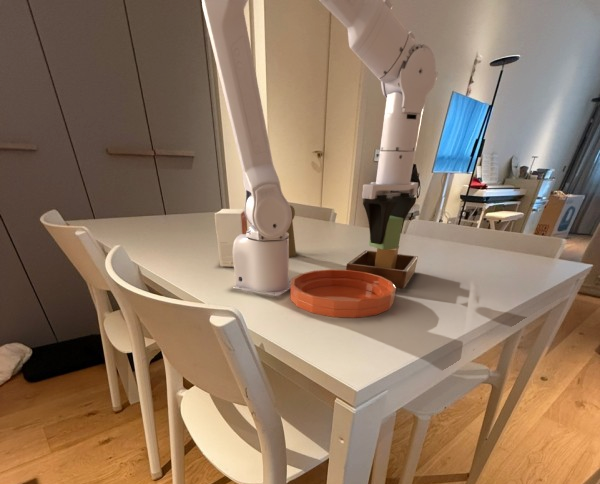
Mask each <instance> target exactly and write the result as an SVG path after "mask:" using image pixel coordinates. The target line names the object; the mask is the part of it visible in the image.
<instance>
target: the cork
mask: <svg viewBox="0 0 600 484" xmlns="http://www.w3.org/2000/svg"><path fill="white" fill-rule="evenodd" d="M289 205H290V207H291V211H292V221H291V224H290V227H289V229H288V230H287V231H286V232H288V233H289V258H291V257H295V256H296V255H297V249H296V242H295V232H294V221H293V220H294V219H295V216H296V211H295V210H296V209H295V208H294V205H291V204H289Z"/></svg>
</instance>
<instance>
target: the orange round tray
mask: <svg viewBox="0 0 600 484" xmlns="http://www.w3.org/2000/svg"><path fill="white" fill-rule="evenodd" d="M290 282H291V289H290V301H291V302H292V303H293V304H294V305H295V306H296V307H297V308H299V309H301V310H304V311H307V312H309V313H312V314H316V315H320V316H321V315H322V316H327V317H332V318H355V319H357V318H365V317H371V316H377V315H379V314H382V313H384V312H386V311H389V310H390V309H391V307H392V305H393V304H394V301H395V295H396V291H397V288H395V286H394V284H393V283H392V282H391V281H389V280H387V279H385V278H383V277H381V276H378V275H374V274H370V273H367V272H360V271H352V270H346V269H319V270H312V271H306V272H304V273H303V272H302V273H300V274H298V275H296V276H294V277H293V278H291V281H290Z"/></svg>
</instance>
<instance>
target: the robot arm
mask: <svg viewBox="0 0 600 484" xmlns="http://www.w3.org/2000/svg"><path fill="white" fill-rule="evenodd" d="M248 1H249V0H201V2H202V3H201V5H202V6H201V7H202V11H203V15H204V19H205V22H206V23H205V24H206V27H207V31H208V36H209V39H210V44H211V48H212V51H213V56H214V60H215V65H216V68H217V72H218V76H219V81H220V85H221V89H222V94H223V96H224V101H225V106H226V109H227V114H228V119H229V121H230V126H231V131H232V134H233V139H234V143H235V147H236V151H237V156H238V159H239V163H240V167H241V173H242V184H243V188H244V194H245V199H244V206H243V209H244V211H245V216H246V218H247V223H249V224H250V226H249V227H248V228H247V230H248V231H247V232H246V234H242V235H239V236H238V237H237V238H236V239H235V242H234V245H233V263H234V267H233V275H234V283H235V286H233V289H234V290H235V289H236V290H240V291H246V292H252V293H258V294H262V295H263V294H264V295H268V296H274V297H280V296H282V295H283V294H285V293H286V292H288V291H289V290H291V281H290V257H289V233H288V232H286V231H287V230H288V229H289V227H290V224H291V221H293V220H292V211H291V207H290V205H291V204H290V203H289V201H288V200H287V199H286V197H285V195H284V193H283V190H282V186H281V181H280V179H279V176H278V174H277V173H278V172H277V171H276V167H275V165H274V162H273V156H272V152H271V147H270V141H269V136H268V130H267V125H266V120H265V115H264V109H263V105H262V99H261V94H260V88H259V83H258V78H257V74H256V67H255V63H254V58H253V52H252V48H251V47H252V46H251V42H250V37H249V32H248V31H249V30H248V26H247V22H246V16H245V8H246V6H247V3H248ZM318 1H319V2H320V3H321V5H322V6H324V7H325V8H326V10H328V11H329V13H330V14H331V15H333V16H334V17H335V18H336V19H337V20H338V21H339V22H340V23H341V24H342V25H343V26H344V27H345V28H346V29H347V41H348V46H349V49H350V50H351V51H352V52H353V53H354V54H355V55H356V56H357V57H358V59H359V60H360V61H361V62H362V63H363V64H364V65H365V66H366V67H367V68H368V70H369V71H370V72H371V73H372V74H373V75H374V76H375V77H376V78H377V79H378V81H380V86H381V93H382V94H383V96H384V99H386V100H385V101H386V102H385V107H384V116H383V123H382V132H381V139H380V147H379V148H380V149H379V154H378V163H377V172H376V178H375V181H372V182H370V183H366V184H362V192H361V199H362V205H363V208H364V210H365V213H366V217H367V220H368V222H367V223H368V228H369V240H371V243H375V244H382V242H383V239H384V235H385V231H386V227H387V223H388V220H389V217H390V216H395V217H399V218H403V224H402V226H403V225H404V223H405V221H406V219H407V217H408V215H409V213H410V211H411V210H412V208H413V207H414V205H415V204H416V202H417V197H416V195H417V192H418V189H419V188H418V187H419V182H416V181H415V182H414V181H411V179H412V174H413V167H414V162H415V156H416V151H417V146H418V140H419V133H420V128H421V123H422V118H423V117H422V116H423V112H424V109H425V106H426V100H427V97H428V95H429V94H430V92H431V91H432V90H433V88H434V86H435V84H436V82H437V79H438V76H439V72H438V71H437V70H436V59H435V54H434V52H433V51H432V49H431V48H430V47H429V46H428V45H427V44H422V43H418V44H416V40H415V39H416V35H415V33H414V32H413V31H412V30H410V31H408V30H407V29H406V28H405V26H404V25H403V23H402V22H401V21H400V19H398V17H397V16H396V15H395V14H394V12H393V11H392V9H393V7H394V4H393V2H392V1H391V0H318ZM391 191H392V192H391Z"/></svg>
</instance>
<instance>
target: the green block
mask: <svg viewBox="0 0 600 484" xmlns="http://www.w3.org/2000/svg"><path fill="white" fill-rule="evenodd" d="M402 224H403V225H404V223H403V218H399V217H395V216H390V217H389V220H388V223H387V227H386V231H385V235H384V239H383V242H382V244H375V243H371V240H370V239H369V241H368V246H370V247H373V248H376V249H377V248H379V249H382V250H388V249H397V248H398V246H399V247H400V240H401V235H402V229H403V228H402V227H403V225H402Z"/></svg>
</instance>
